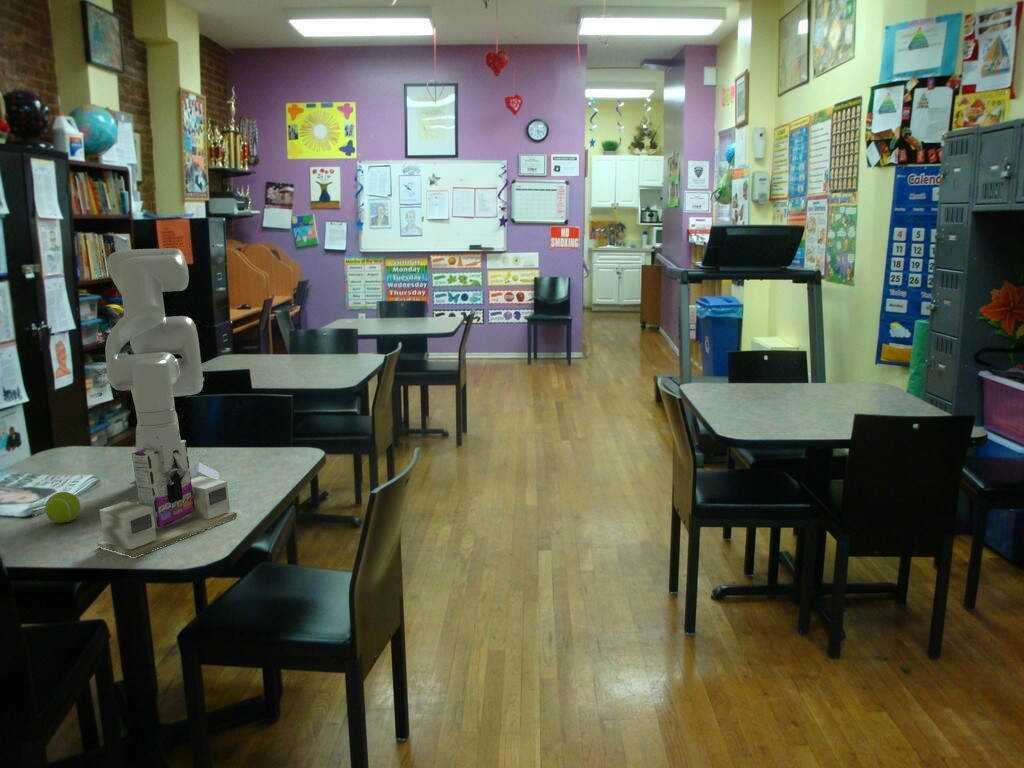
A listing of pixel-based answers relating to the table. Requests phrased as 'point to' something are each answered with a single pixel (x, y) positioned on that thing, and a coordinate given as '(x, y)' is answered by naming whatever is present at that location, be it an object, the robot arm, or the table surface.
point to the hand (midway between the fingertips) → (166, 498)
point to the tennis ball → (62, 507)
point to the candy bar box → (161, 487)
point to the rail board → (136, 532)
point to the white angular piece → (203, 472)
